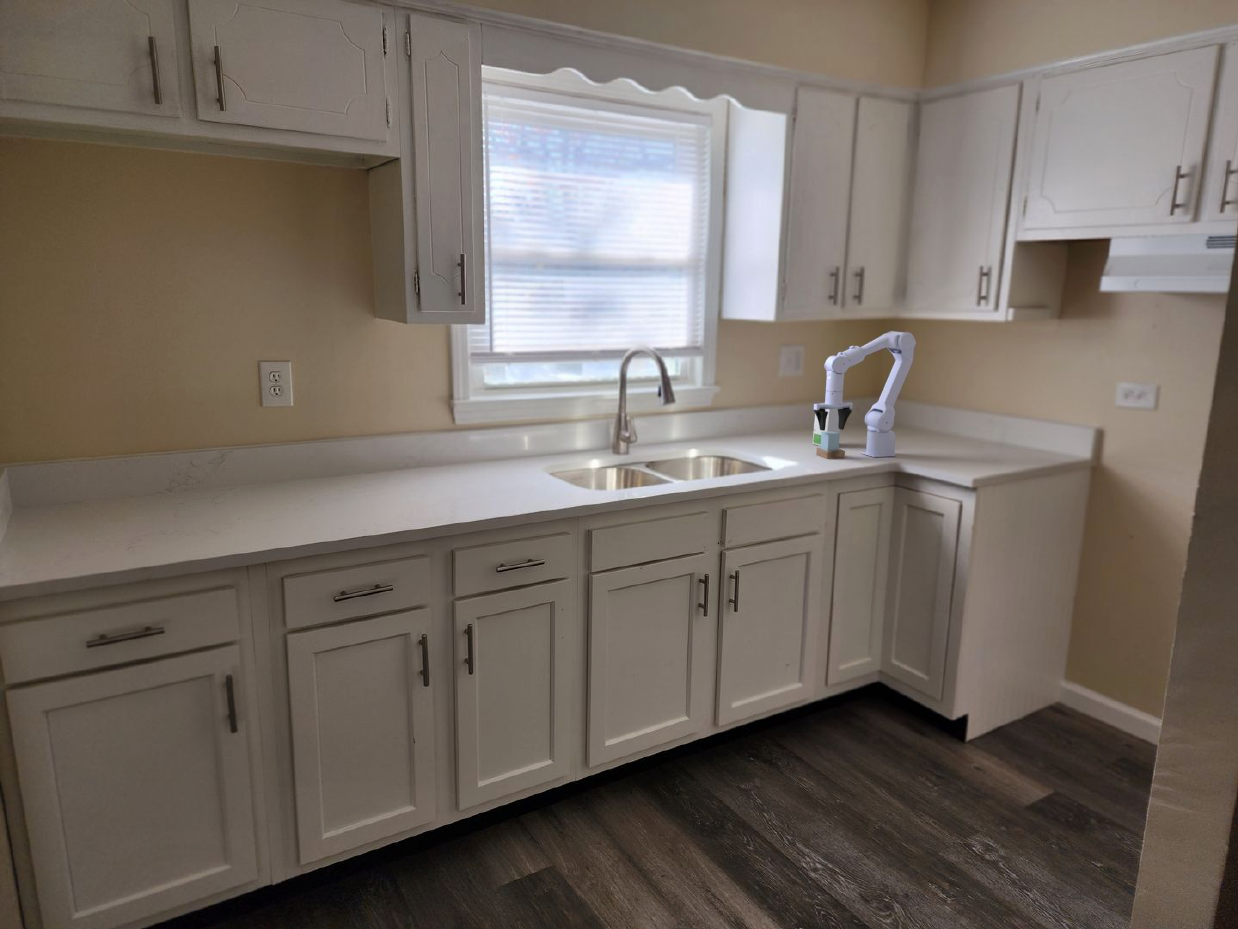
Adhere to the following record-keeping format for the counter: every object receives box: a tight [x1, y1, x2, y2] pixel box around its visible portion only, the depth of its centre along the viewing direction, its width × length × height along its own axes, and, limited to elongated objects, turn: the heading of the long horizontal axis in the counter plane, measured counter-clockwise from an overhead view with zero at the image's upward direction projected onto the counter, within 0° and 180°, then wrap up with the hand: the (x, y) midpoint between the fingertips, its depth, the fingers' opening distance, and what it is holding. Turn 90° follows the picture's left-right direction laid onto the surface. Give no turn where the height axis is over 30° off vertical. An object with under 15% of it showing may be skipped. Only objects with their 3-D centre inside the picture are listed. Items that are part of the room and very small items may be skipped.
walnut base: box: [815, 447, 846, 460], centre depth 287 cm, size 7×7×3 cm
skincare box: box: [812, 407, 841, 447], centre depth 306 cm, size 8×7×16 cm
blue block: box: [819, 431, 841, 451], centre depth 286 cm, size 4×4×6 cm
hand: (831, 429), depth 284 cm, fingers open, 7 cm apart
